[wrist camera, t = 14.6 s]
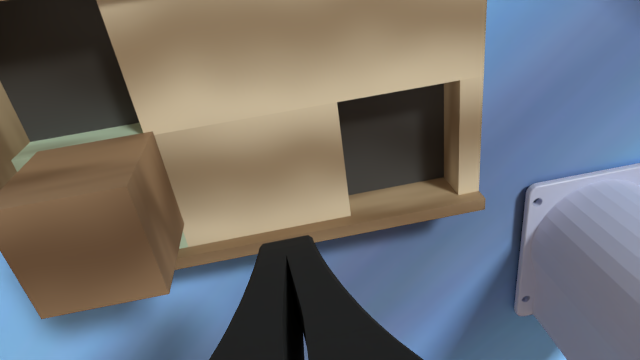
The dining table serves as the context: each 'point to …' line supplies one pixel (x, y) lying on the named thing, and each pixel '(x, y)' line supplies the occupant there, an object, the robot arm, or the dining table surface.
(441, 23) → the board
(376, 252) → the dining table surface
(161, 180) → the walnut block
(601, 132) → the dining table surface
